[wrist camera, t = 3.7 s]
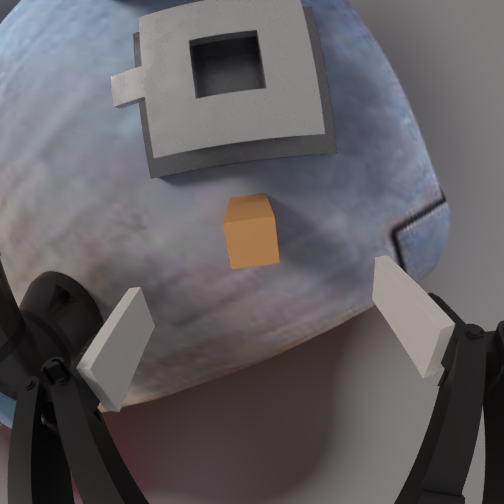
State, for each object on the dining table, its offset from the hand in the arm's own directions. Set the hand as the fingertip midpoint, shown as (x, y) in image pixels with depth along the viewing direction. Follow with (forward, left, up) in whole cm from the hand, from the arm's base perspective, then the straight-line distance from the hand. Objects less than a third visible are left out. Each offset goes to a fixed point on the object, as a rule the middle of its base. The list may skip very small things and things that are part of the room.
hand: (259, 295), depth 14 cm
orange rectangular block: (0, 0, -18) cm, 18 cm away
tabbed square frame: (+15, 0, -18) cm, 23 cm away
